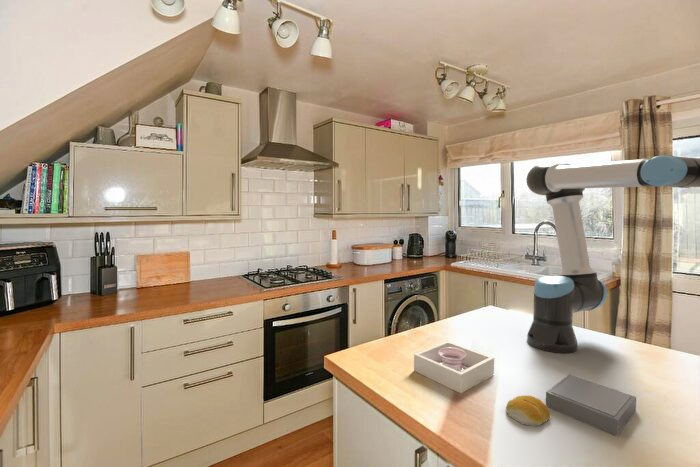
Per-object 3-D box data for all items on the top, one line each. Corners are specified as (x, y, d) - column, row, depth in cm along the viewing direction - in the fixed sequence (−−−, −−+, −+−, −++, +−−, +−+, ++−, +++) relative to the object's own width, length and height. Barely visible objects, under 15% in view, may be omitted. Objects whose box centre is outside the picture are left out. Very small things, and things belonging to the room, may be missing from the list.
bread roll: (555, 417, 78) (556, 400, 78) (534, 431, 73) (535, 414, 73) (520, 400, 85) (521, 385, 85) (499, 412, 80) (499, 396, 80)
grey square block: (545, 406, 82) (546, 391, 82) (568, 387, 91) (569, 373, 91) (617, 436, 71) (617, 419, 71) (635, 411, 80) (636, 396, 79)
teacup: (467, 387, 91) (467, 365, 91) (424, 376, 98) (424, 355, 97) (477, 369, 101) (477, 349, 101) (437, 360, 108) (437, 341, 107)
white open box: (413, 370, 101) (413, 354, 100) (447, 356, 111) (447, 340, 110) (460, 393, 88) (461, 374, 88) (493, 374, 98) (494, 357, 98)
